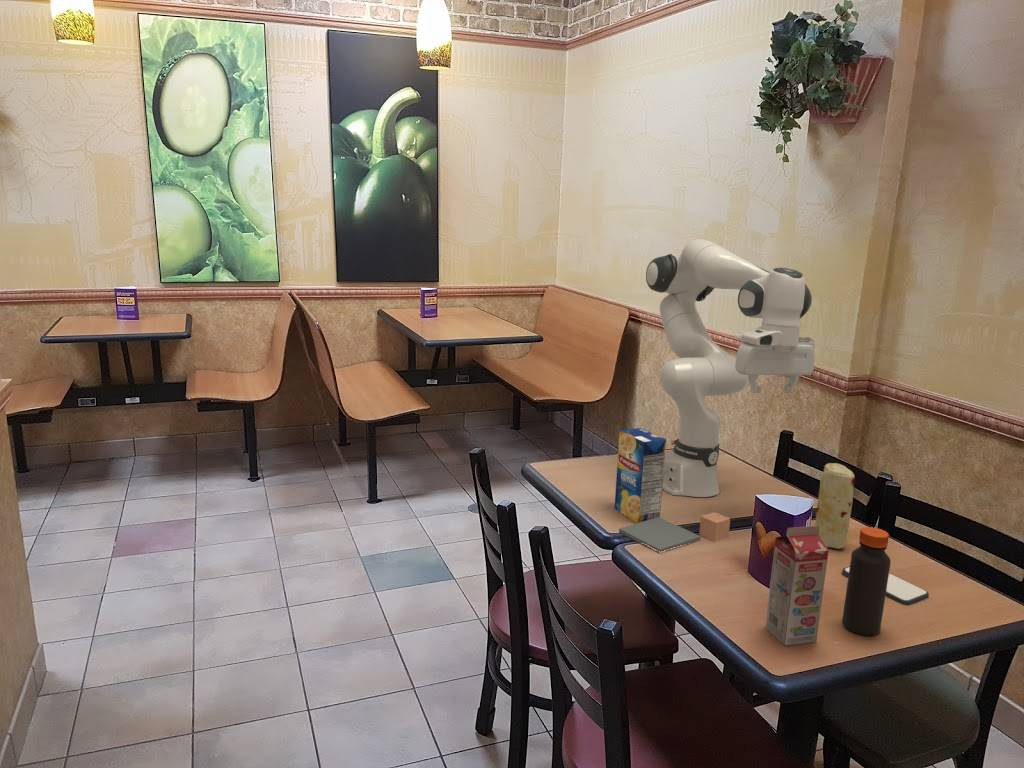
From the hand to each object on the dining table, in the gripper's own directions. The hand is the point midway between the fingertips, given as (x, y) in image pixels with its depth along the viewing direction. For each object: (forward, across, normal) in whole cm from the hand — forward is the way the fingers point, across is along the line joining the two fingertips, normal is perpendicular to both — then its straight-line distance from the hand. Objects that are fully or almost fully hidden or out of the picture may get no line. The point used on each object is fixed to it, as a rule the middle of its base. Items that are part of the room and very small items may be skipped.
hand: (771, 392), depth 183 cm
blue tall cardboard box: (+37, +25, -16) cm, 47 cm away
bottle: (+36, +6, +46) cm, 59 cm away
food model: (+36, -14, +12) cm, 40 cm away
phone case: (+36, -11, +32) cm, 50 cm away
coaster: (+37, +26, -2) cm, 45 cm away
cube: (+36, +12, +1) cm, 38 cm away
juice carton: (+37, +22, +45) cm, 62 cm away
